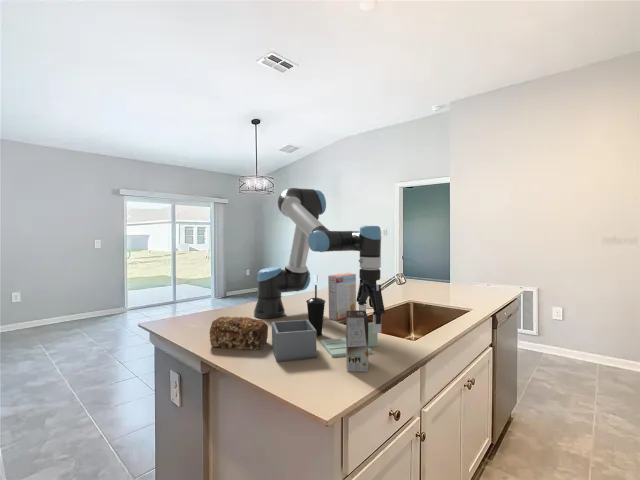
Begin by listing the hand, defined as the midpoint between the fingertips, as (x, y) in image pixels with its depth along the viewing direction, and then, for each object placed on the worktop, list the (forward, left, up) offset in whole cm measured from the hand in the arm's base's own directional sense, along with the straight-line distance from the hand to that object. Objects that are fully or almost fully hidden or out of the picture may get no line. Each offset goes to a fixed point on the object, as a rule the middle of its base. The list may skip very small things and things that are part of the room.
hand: (369, 327), depth 118 cm
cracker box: (-40, +3, -7) cm, 41 cm away
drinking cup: (-17, -16, -7) cm, 24 cm away
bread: (-12, -45, -7) cm, 48 cm away
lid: (0, -7, -7) cm, 10 cm away
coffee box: (+16, -11, -7) cm, 21 cm away
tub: (0, -28, -7) cm, 29 cm away
